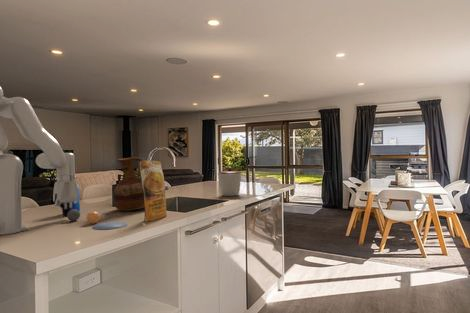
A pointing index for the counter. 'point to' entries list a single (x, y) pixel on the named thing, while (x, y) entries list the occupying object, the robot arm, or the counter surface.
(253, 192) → the counter surface
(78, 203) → the blue carton
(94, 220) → the object ball
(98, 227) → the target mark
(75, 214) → the gray ball
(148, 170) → the pancake mix bag
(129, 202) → the ceramic pitcher
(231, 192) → the canister
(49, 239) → the counter surface
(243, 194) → the counter surface
